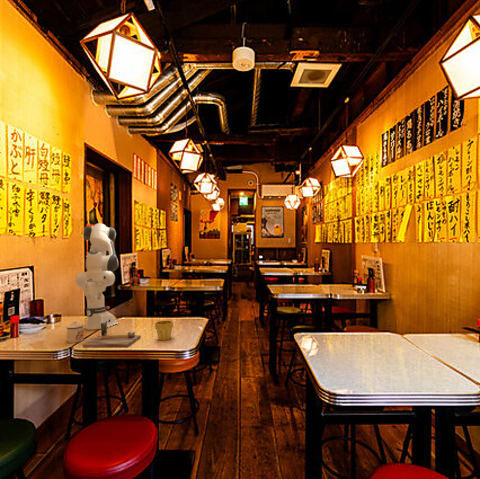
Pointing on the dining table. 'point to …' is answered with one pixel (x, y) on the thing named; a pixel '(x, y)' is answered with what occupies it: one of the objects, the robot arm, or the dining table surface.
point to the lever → (105, 335)
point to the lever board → (111, 342)
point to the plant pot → (164, 329)
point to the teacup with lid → (75, 332)
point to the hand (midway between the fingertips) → (95, 301)
